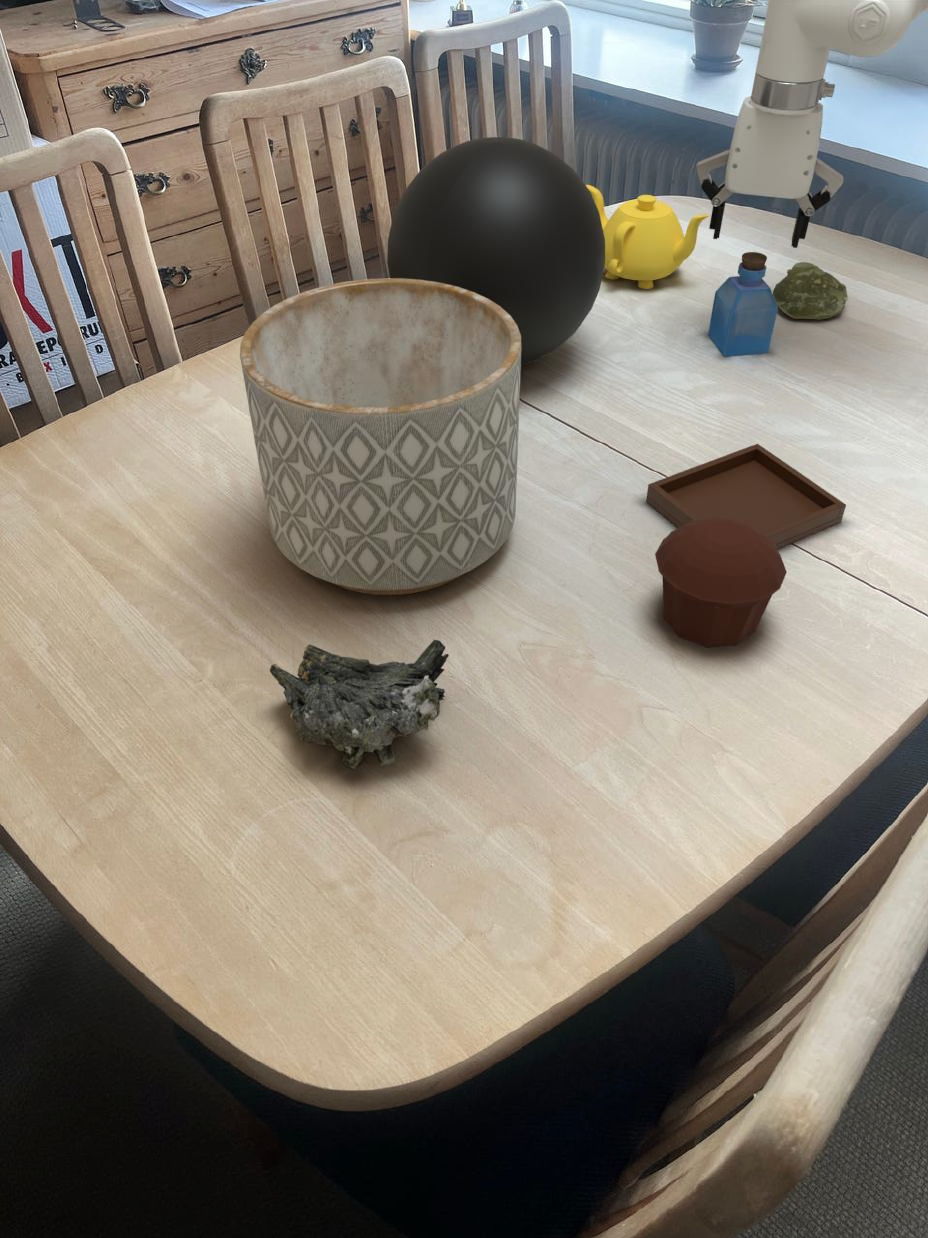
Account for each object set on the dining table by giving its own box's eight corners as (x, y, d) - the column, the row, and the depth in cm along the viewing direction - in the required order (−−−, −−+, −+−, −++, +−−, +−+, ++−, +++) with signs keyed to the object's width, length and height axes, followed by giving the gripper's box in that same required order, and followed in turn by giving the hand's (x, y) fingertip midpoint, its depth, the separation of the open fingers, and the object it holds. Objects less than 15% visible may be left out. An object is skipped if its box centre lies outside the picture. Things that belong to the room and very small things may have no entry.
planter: (484, 451, 118) (485, 266, 103) (542, 592, 100) (555, 392, 85) (264, 479, 114) (232, 291, 99) (283, 631, 96) (248, 429, 81)
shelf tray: (753, 460, 116) (757, 443, 115) (841, 522, 108) (846, 504, 106) (645, 501, 111) (648, 484, 109) (729, 570, 102) (732, 552, 100)
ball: (603, 317, 143) (622, 111, 124) (586, 417, 123) (606, 191, 105) (416, 303, 146) (408, 101, 128) (372, 399, 127) (354, 177, 108)
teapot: (552, 276, 152) (556, 199, 145) (603, 243, 161) (609, 169, 153) (671, 312, 144) (682, 232, 136) (717, 275, 152) (731, 198, 145)
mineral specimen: (450, 613, 90) (412, 583, 80) (478, 754, 86) (443, 739, 77) (297, 656, 93) (244, 632, 84) (318, 793, 89) (265, 784, 80)
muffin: (772, 587, 100) (794, 505, 93) (771, 665, 92) (795, 582, 85) (651, 570, 102) (664, 489, 95) (640, 645, 94) (653, 562, 87)
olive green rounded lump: (794, 315, 139) (791, 243, 139) (763, 331, 146) (760, 263, 146) (856, 320, 142) (853, 249, 142) (823, 336, 149) (820, 269, 149)
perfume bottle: (750, 330, 139) (768, 245, 131) (768, 352, 135) (787, 265, 127) (707, 334, 139) (722, 248, 130) (724, 356, 134) (740, 269, 126)
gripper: (863, 88, 117) (826, 235, 128) (711, 75, 120) (688, 220, 131) (865, 107, 111) (826, 259, 123) (706, 94, 114) (683, 243, 126)
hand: (755, 239), depth 127 cm, fingers open, 9 cm apart
